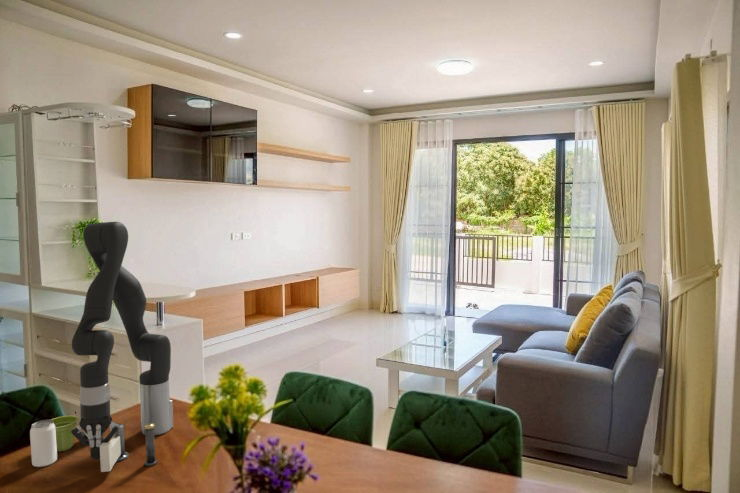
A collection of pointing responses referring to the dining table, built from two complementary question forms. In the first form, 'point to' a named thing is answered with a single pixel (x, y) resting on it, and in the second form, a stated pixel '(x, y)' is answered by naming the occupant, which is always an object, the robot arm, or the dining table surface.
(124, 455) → the hinge post
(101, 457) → the gate
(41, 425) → the can
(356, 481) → the dining table surface
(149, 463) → the post
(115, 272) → the robot arm
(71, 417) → the plant pot
